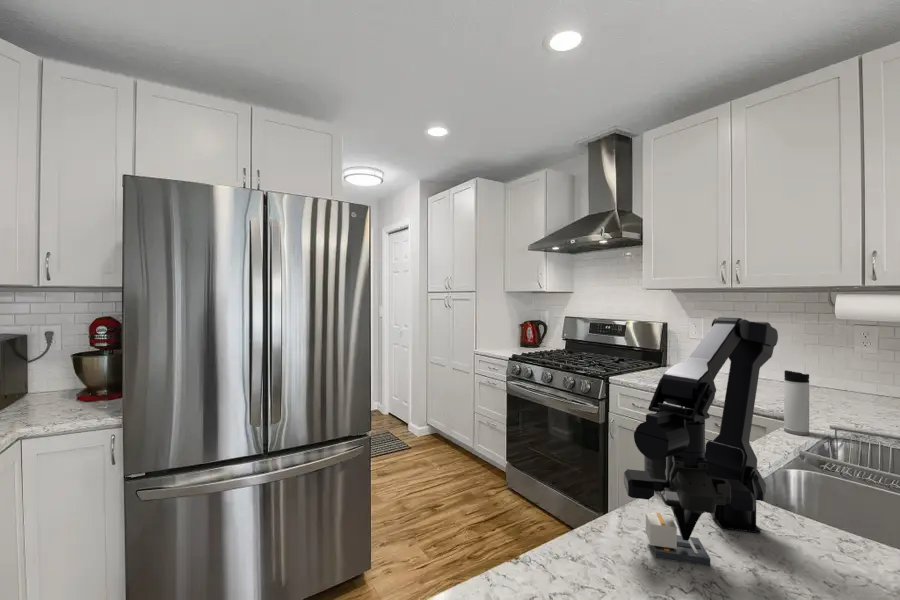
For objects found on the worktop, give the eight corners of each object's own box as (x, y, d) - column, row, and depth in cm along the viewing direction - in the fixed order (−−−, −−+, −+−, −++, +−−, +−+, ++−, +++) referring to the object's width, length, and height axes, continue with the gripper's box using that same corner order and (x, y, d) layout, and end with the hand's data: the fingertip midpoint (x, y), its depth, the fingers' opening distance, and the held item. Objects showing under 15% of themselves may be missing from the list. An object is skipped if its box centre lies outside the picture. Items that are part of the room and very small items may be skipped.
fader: (670, 535, 73) (670, 513, 73) (676, 548, 69) (676, 525, 69) (645, 532, 74) (645, 510, 74) (650, 545, 70) (650, 522, 70)
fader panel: (698, 544, 73) (698, 537, 73) (710, 566, 67) (710, 557, 67) (648, 538, 75) (648, 530, 75) (655, 558, 69) (656, 550, 69)
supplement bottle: (666, 478, 100) (666, 428, 100) (683, 491, 93) (683, 438, 93) (638, 479, 100) (638, 428, 100) (653, 492, 93) (653, 438, 93)
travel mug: (778, 429, 138) (778, 369, 138) (796, 429, 138) (796, 368, 138) (795, 436, 131) (796, 372, 131) (814, 435, 132) (814, 372, 132)
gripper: (634, 459, 65) (633, 559, 65) (773, 471, 61) (772, 579, 61) (623, 436, 76) (622, 522, 76) (740, 445, 71) (740, 537, 71)
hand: (684, 539), depth 71 cm, fingers closed
